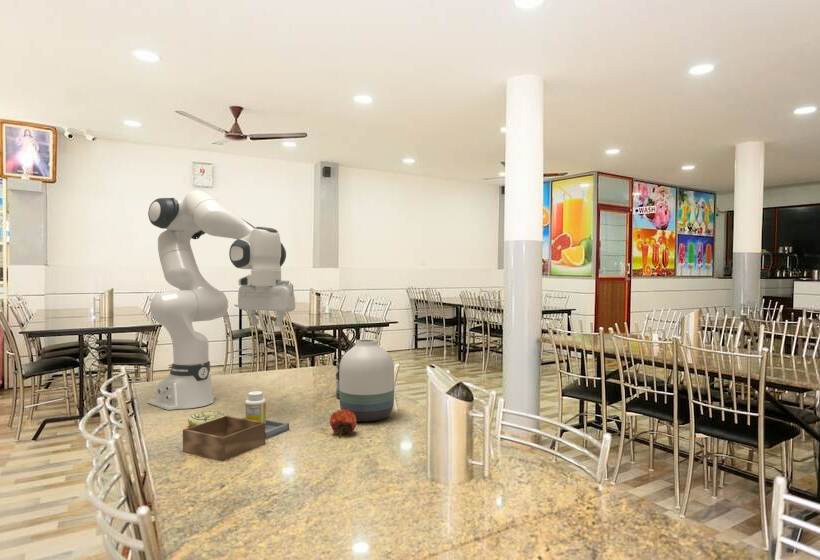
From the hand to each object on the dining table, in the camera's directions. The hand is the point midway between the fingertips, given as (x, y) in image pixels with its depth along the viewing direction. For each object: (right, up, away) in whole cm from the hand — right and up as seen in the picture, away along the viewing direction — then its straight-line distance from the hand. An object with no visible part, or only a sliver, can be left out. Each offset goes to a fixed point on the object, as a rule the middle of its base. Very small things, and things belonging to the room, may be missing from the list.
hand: (266, 325), depth 158 cm
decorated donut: (-16, -30, -6) cm, 34 cm away
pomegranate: (+25, -30, -14) cm, 41 cm away
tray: (0, -29, -10) cm, 31 cm away
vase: (+31, -29, +3) cm, 42 cm away
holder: (-4, -29, -24) cm, 38 cm away
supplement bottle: (0, -29, -10) cm, 30 cm away
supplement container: (+22, -29, +28) cm, 46 cm away
